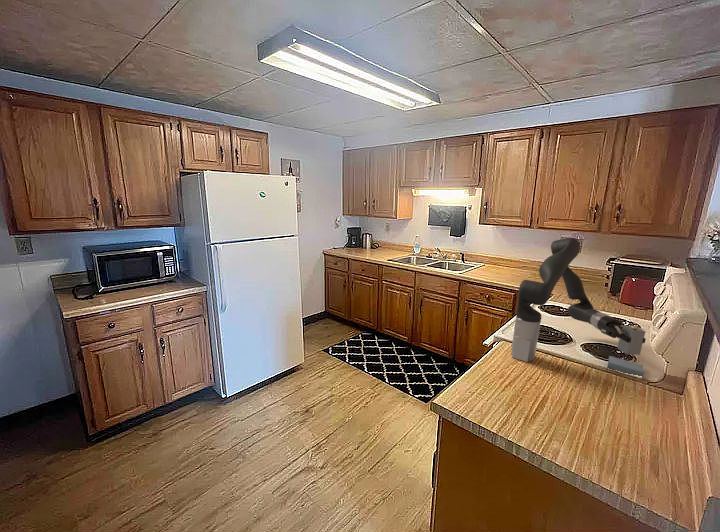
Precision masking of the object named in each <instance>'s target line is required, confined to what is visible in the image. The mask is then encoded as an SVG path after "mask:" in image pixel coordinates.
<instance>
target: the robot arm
mask: <svg viewBox="0 0 720 532" xmlns="http://www.w3.org/2000/svg"><path fill="white" fill-rule="evenodd" d="M550 249H551V255H550V256H548V257H546V258H545V259H544V261H542V263H541V264H540V266H539V268H538V273H539V276H540V278H541V280H542V281H543V282H539V281H534V280H530V279H524V280H522V281H521V283H520V285H519V288H518V292H517V305H516V315H515V323H514V328H513V329H514V330H513V337H512V340H511V341H512V342H511V348H510V349H511V351H510V355H511V358H513V359H516V360H519V361H522V362H525V363H528V362H533V361H534V360H535V359H536V353H537V346H538V341H539V340H538V339H539V335H540V334H539V333H540V328H541V322H542V314H541V312H539V311H538V310H537V309H535V308H534V307H532V306H531V305H530V304H532V305H536V306H544V305H546V303H547V302H548V301H549V299H550V297H551V294H553V290H554V289H555V286H556V285H557V283H558V282H559V280H560V279H561V278H562V280H563V282H564V284H565V285H564V286H565V289H566V292H567V296H568V298H569V299H570V300H573V301H577V300H579V302H578V303H574V304H570V305H569V306H568V308H567V314H568V315H569V316H570V317H571V318H572V319H574V320H576V321H579V322H583V323H588V324H589V325H591V326H592V327H594V328H595V329H597V330H599V331H600V332H601V333H602V334H603V335H606V336H609V337H610V338H612V339H616V338H617V340H618V339H622V340H624V341H626V342H627V343H630V342H631V337H629V336H627V335H625V334H623V333H622V332H621V331H622V326H623V325H622V323H621V321H620V320H618V319H616V318H614V317H612V316H610V315H609V314H606V313H604V312H601V311H600V310H597V309H595V308H594V306H593V304H592V302H590V300H589V298H588V296H587V295H586V293H585V288H584V285H583V282H582V279H581V278H580V276H578V274H577V273H575V272H574V271H573V270H572V269H571V268H570V264H571V263H572V262H573V260H574V259H575V258H577V257H578V255H579V254H580V251H581V244H580V241H579V240H578V238H575V237H567V238H566V237H565V238H562V239H556V240H554V241H552V242H551V244H550ZM645 343H646V337H644V339H643V344H645Z"/></svg>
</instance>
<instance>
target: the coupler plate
mask: <svg viewBox="0 0 720 532" xmlns="http://www.w3.org/2000/svg"><path fill="white" fill-rule="evenodd" d="M608 360H609V361H608V362H607V366H606V367H607V368H609V369H612V370H617V371H620V372H623V373H628V374H633V375H638V376H642V377H643V378H644V377H645V371H644V364H640V363H638V362H633V361H629V360H626V359H622V358H618V357H615V356H611V355H609V356H608ZM607 368H606V369H607Z"/></svg>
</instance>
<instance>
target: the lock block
mask: <svg viewBox="0 0 720 532" xmlns="http://www.w3.org/2000/svg"><path fill="white" fill-rule="evenodd" d="M621 332H622V333H623V334H625V335H627V336H629V337H631V342H630V343H627V342H626V341H624V340H622V339H619V340H618V344H617V350H619V351H621V352H622V353H624V354H626V355H630V356H631V355H633V356H640V355H641V351H642V348H643V347H642V346H643V344H644V343H643V339H644V338H645V335H646V332H647V331H645V330H644V329H642V328H640V327H638V326H637V325H622V331H621Z"/></svg>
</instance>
